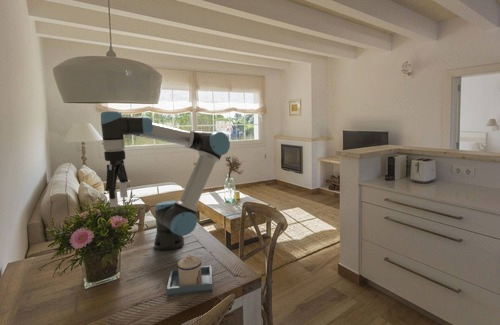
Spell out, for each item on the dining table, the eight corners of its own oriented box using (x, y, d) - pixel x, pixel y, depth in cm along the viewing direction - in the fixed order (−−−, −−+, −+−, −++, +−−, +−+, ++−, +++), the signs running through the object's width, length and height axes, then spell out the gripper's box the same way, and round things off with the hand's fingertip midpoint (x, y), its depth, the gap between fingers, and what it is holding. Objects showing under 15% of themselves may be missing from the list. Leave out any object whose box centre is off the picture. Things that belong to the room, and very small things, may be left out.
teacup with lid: (202, 289, 105) (200, 260, 103) (177, 291, 103) (175, 262, 102) (202, 272, 117) (201, 246, 115) (180, 274, 115) (178, 248, 113)
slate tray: (171, 276, 115) (171, 269, 115) (211, 271, 118) (211, 265, 118) (167, 296, 102) (166, 288, 102) (212, 290, 105) (212, 283, 104)
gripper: (114, 147, 123) (118, 194, 126) (92, 154, 98) (98, 211, 101) (132, 147, 124) (136, 193, 127) (114, 153, 100) (120, 210, 103)
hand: (119, 201), depth 114 cm, fingers open, 13 cm apart
